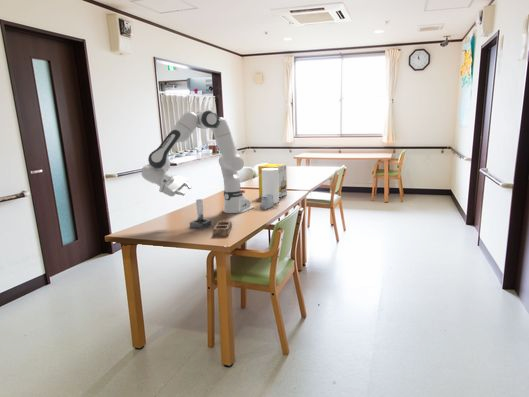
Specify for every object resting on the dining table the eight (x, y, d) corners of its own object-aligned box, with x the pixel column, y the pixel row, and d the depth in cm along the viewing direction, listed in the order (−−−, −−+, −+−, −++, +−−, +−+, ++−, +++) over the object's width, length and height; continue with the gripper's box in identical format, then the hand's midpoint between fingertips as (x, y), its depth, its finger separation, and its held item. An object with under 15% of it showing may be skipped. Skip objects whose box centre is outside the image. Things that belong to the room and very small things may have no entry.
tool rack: (213, 236, 204) (213, 229, 204) (218, 228, 219) (217, 221, 218) (228, 236, 204) (227, 228, 203) (231, 228, 219) (231, 221, 218)
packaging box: (276, 199, 293) (276, 167, 288) (259, 197, 301) (258, 166, 296) (286, 195, 306) (286, 164, 301) (269, 193, 315) (268, 163, 310)
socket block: (199, 223, 231) (198, 218, 230) (211, 224, 227) (211, 219, 226) (190, 227, 223) (189, 222, 222) (203, 228, 219) (202, 223, 218)
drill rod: (201, 225, 227) (199, 199, 224) (205, 225, 225) (203, 199, 222) (196, 226, 225) (194, 200, 221) (200, 227, 222) (198, 200, 219)
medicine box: (268, 206, 270) (268, 194, 268) (273, 206, 267) (273, 195, 266) (261, 208, 264) (261, 196, 262) (266, 209, 262) (266, 197, 260)
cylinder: (269, 199, 291) (268, 167, 286) (282, 201, 284) (281, 168, 278) (259, 202, 282) (258, 169, 277) (272, 204, 274) (271, 170, 269)
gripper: (173, 179, 238) (193, 188, 237) (157, 192, 220) (179, 202, 219) (175, 170, 235) (195, 179, 234) (160, 183, 217) (181, 193, 216)
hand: (187, 191), depth 227 cm, fingers open, 8 cm apart
